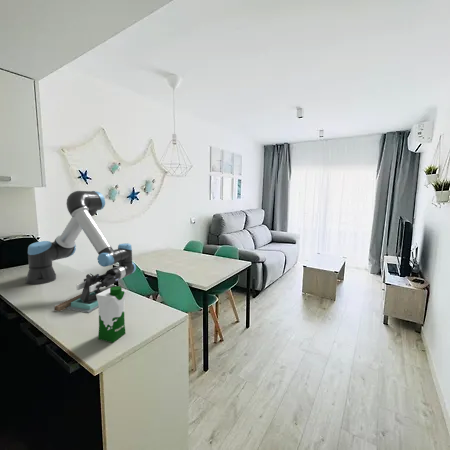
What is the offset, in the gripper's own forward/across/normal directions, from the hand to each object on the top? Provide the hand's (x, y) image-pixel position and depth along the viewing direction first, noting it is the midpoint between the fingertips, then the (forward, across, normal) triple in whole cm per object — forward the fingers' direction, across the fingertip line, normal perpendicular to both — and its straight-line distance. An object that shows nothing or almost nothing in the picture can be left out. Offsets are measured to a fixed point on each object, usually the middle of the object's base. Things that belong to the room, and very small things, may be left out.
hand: (83, 288), depth 122 cm
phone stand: (-5, 0, -7) cm, 9 cm away
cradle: (-5, 0, -10) cm, 11 cm away
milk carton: (+17, -29, -10) cm, 35 cm away
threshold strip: (-5, +9, -10) cm, 14 cm away
